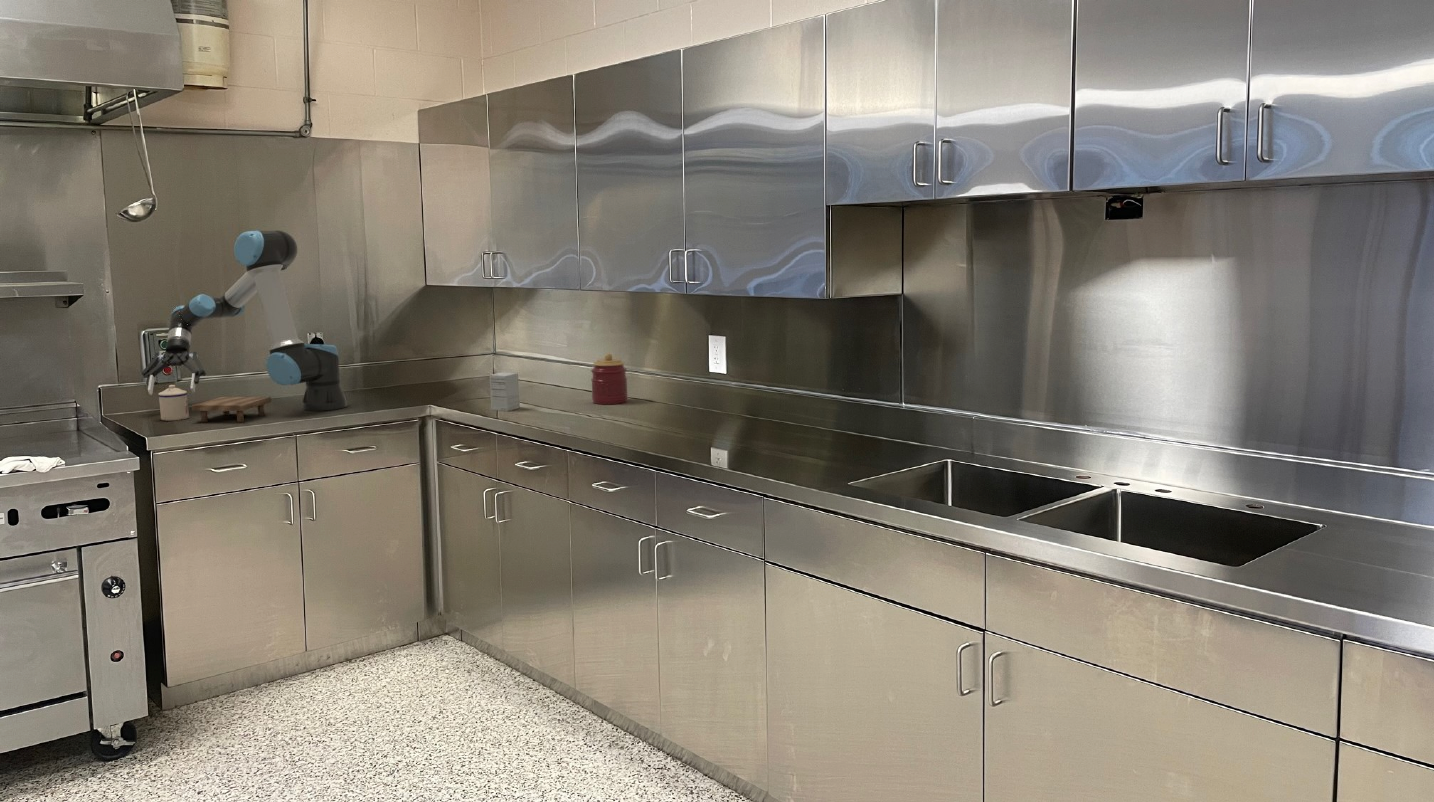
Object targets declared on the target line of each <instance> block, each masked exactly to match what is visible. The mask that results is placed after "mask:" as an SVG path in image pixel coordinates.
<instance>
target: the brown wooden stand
mask: <svg viewBox="0 0 1434 802" xmlns="http://www.w3.org/2000/svg"><path fill="white" fill-rule="evenodd" d="M271 398H272V397H271V396H220V397H218V398H217V397H216V398H213V399H210V400H206V401H203V402H199V403H195V404H191V411H192V412H195V411H196V412H197V411H199V412H200V421H201V423H206V422H209V420H208V419H209V418H208V412H211V411H212V412H213V411H215V412H216V411H219V412H223V413H222V415H223V416H230V415H231V414H230V412H233V411H234V412H236V420H237V423H244V422H245V418H244V411H247V410H249V409H253V408H257V413H258V414H257V415H258V416H265V405H266V404H269V403H272V399H271Z"/></svg>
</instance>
